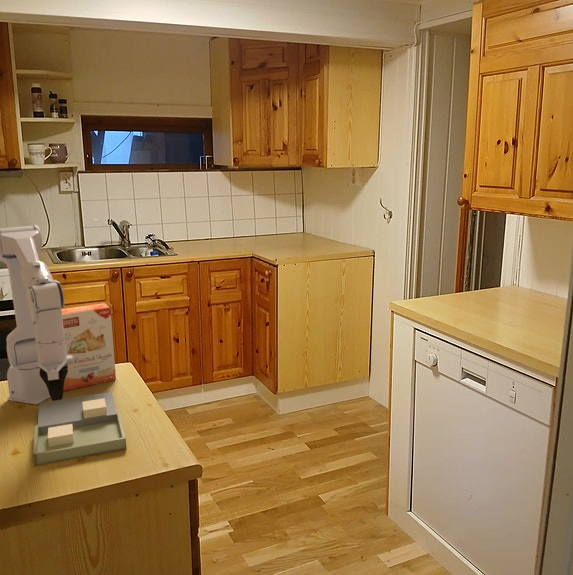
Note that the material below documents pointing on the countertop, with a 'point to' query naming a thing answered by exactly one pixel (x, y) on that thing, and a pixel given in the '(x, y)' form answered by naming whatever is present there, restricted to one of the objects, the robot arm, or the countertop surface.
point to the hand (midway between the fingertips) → (57, 399)
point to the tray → (81, 443)
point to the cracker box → (88, 345)
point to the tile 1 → (60, 435)
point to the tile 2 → (94, 408)
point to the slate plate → (73, 412)
